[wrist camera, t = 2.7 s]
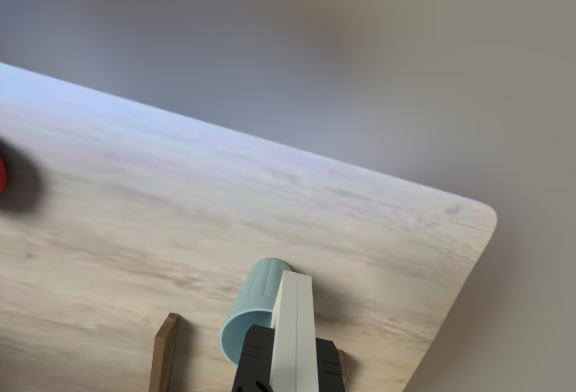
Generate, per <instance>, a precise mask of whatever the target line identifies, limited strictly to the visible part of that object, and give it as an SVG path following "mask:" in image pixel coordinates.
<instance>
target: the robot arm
mask: <svg viewBox="0 0 576 392" xmlns="http://www.w3.org/2000/svg"><path fill="white" fill-rule="evenodd" d="M231 392H345V389H344V382H343V377H342V369H341V363H340V357H339V352H338V350H337V348H336V347H335V345H334V343H333V341H329V340H324V339H320V338H316V337H315V326H314V310H313V295H312V279H311V276H308V275H304V274H299V273H295V272H291V271H287V270H284V272H283V275H282V279H281V283H280V286H279V290H278V294H277V297H276V301H275V305H274V308H273V313H272V320H271V328H268V327H264V326H260V325H255V324H253V325H252V326H251V327H250V328H249V330H248V331H247V332H246V335H245V339H244V343H243V347H242V351H241V355H240V360H239V364H238V368H237V372H236V376H235V380H234V384H233V388H232V391H231Z"/></svg>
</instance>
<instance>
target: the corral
mask: <svg viewBox="0 0 576 392" xmlns="http://www.w3.org/2000/svg"><path fill="white" fill-rule="evenodd" d="M178 317H179V314H174V313H170V314H169V315H168V317H167V318H166V320H165V322H164V323H163V325H162V326H161V328H160V329H159V331H158V333H157V334H156V336H155V344H154V352H153V361H152V370H151V379H150V387H149V392H168V387H169V380H170V373H171V366H172V359H173V352H174V345H175V338H176V331H177V324H178ZM337 350H338V349H337ZM338 352H339V357H340V363H341V369H342V377H343V382H344V386H345V383H346V381H347V378H348V376H347V371H346V365H345V360H344V354H343V351H342V350H338Z"/></svg>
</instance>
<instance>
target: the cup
mask: <svg viewBox="0 0 576 392" xmlns="http://www.w3.org/2000/svg"><path fill="white" fill-rule="evenodd" d="M284 270H287V271H291V272H292V270H291V269H290V267H289V266H288V265H287V264H286V263H285V262H283V261H281V260H279V259H274V258H267V259H264V260H261V261H259V262H257V263H256V264H255V265H254V267H253V268H252V270H251V271H250V273H249V275H248V277H247V279H246V281H245V283H244V285H243V287H242V289H241V291H240V293H239V295H238V297H237V299H236V301H235V303H234V305H233V307H232V309H231V311H230V313H229V315H228V317H227V319H226V321H225V323H224V325H223V327H222V329H221V332H220V347H221V350H222V352H223V354H224V356H225V357H226V358H227V360H228V361H229V362H230V363H231V364H233V365H234V366H235V367H237V368H238V364H239V360H240V355H241V351H242V347H243V343H244V339H245V335H246V332H247V331H248V330H249V328H250V327H251V326H252V325H253V324H255V325H260V326H264V327H268V328H271V320H272V313H273V308H274V305H275V301H276V297H277V294H278V290H279V286H280V283H281V279H282V275H283V272H284Z"/></svg>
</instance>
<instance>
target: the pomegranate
mask: <svg viewBox="0 0 576 392" xmlns="http://www.w3.org/2000/svg"><path fill="white" fill-rule="evenodd" d="M6 177H7V176H6V170H5V165H4V162H3V160H2V157H1V155H0V194H1V192H2V191H3V190H4V188H5V185H6V181H7V178H6Z"/></svg>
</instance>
